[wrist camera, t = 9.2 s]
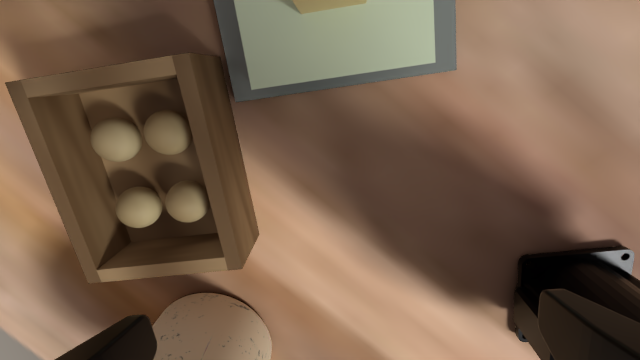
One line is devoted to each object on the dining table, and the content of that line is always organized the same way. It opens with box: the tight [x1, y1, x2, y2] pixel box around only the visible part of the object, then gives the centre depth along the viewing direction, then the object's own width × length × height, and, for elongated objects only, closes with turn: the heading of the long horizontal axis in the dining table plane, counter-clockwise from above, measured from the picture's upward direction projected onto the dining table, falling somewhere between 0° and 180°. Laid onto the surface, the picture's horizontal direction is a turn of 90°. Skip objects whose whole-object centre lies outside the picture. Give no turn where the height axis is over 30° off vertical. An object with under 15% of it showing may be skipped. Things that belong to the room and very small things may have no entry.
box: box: [5, 53, 259, 284], centre depth 18 cm, size 9×11×4 cm
